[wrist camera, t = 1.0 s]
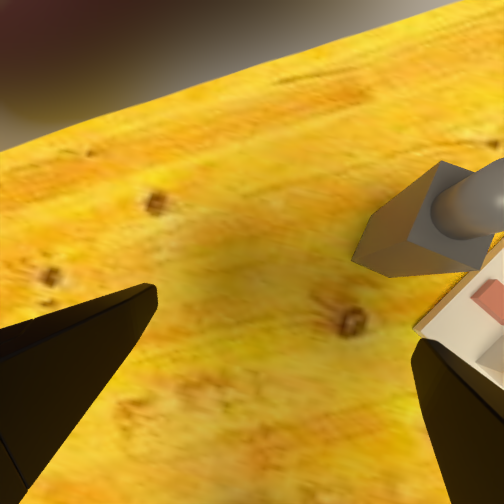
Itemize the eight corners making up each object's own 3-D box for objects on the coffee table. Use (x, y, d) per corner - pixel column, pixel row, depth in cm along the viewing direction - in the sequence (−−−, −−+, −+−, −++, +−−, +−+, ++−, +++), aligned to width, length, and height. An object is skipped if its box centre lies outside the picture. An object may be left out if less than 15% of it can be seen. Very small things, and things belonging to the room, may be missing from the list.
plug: (389, 277, 22) (546, 265, 9) (350, 260, 22) (445, 226, 9) (409, 231, 22) (589, 153, 9) (371, 215, 22) (489, 121, 10)
